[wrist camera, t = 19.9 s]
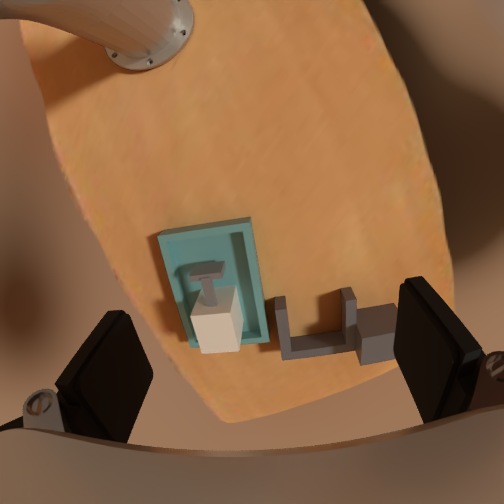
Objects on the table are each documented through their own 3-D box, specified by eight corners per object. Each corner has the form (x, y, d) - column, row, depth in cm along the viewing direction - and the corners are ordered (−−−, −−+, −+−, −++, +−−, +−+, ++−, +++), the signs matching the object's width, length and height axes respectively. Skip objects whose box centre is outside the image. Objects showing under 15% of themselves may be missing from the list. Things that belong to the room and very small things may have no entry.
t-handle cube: (193, 260, 42) (180, 284, 35) (229, 255, 41) (222, 279, 35) (210, 323, 45) (202, 353, 39) (243, 320, 45) (239, 351, 38)
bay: (274, 297, 44) (275, 325, 37) (395, 280, 42) (413, 304, 35) (281, 345, 47) (282, 376, 40) (391, 329, 45) (405, 356, 38)
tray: (163, 230, 41) (157, 236, 39) (250, 216, 40) (249, 222, 37) (194, 338, 47) (190, 347, 45) (269, 332, 46) (269, 342, 44)
